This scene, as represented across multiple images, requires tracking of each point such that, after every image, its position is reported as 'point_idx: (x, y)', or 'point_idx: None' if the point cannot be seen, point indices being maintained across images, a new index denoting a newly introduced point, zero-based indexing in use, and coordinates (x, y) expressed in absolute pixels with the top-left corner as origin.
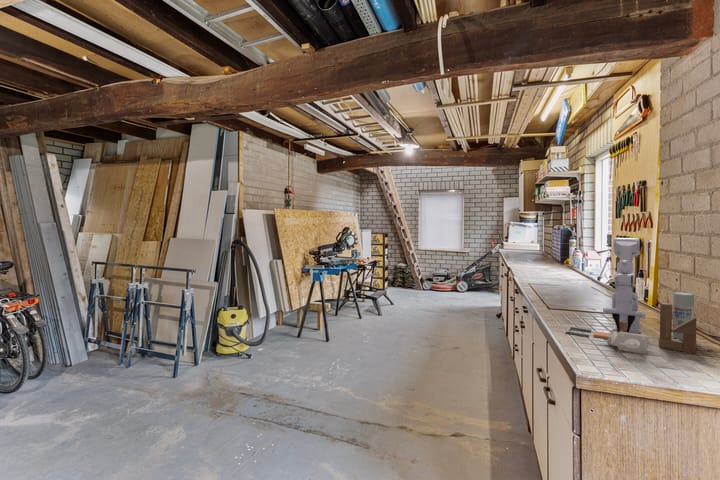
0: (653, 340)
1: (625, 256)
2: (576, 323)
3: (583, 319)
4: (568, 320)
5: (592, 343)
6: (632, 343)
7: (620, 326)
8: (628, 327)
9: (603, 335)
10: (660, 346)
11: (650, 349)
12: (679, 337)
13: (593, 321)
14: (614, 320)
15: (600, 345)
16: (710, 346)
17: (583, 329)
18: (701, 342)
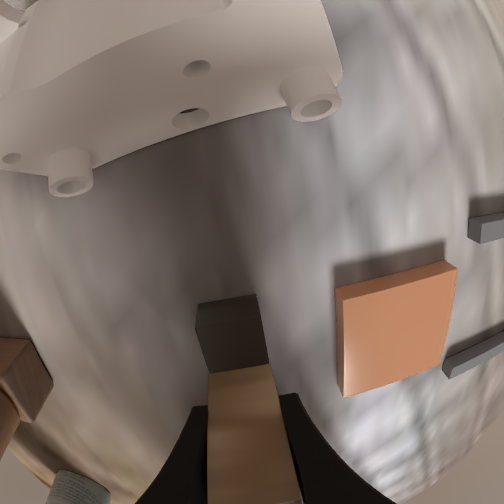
0: (116, 441)
1: None
2: (467, 425)
3: (425, 476)
4: (481, 429)
5: (419, 40)
6: (60, 7)
7: (278, 451)
8: (185, 456)
9: (395, 304)
10: (22, 341)
11: (26, 238)
12: (74, 482)
13: (395, 486)
14: (375, 490)
15: (360, 15)
16: None
17: (482, 350)
18: (40, 469)
